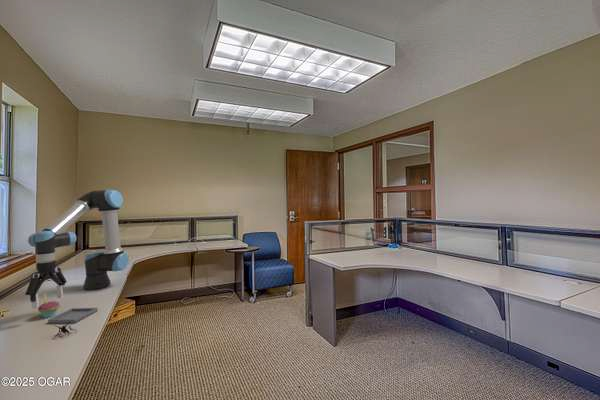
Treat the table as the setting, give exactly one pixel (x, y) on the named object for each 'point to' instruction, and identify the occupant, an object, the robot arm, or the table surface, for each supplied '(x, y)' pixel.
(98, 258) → the robot arm
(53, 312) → the cupcake
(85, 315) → the tray
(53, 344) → the table surface
